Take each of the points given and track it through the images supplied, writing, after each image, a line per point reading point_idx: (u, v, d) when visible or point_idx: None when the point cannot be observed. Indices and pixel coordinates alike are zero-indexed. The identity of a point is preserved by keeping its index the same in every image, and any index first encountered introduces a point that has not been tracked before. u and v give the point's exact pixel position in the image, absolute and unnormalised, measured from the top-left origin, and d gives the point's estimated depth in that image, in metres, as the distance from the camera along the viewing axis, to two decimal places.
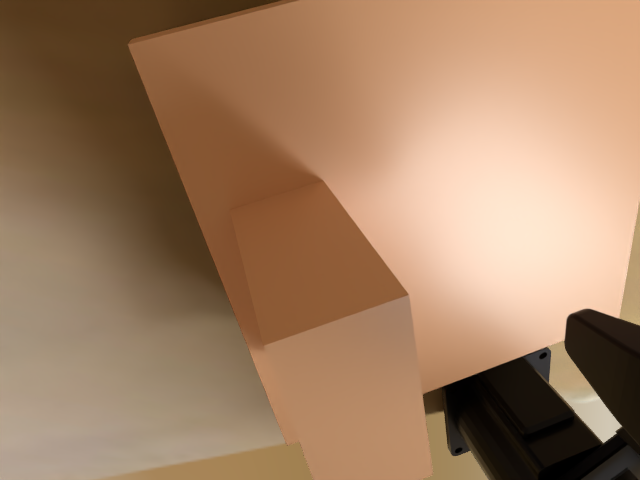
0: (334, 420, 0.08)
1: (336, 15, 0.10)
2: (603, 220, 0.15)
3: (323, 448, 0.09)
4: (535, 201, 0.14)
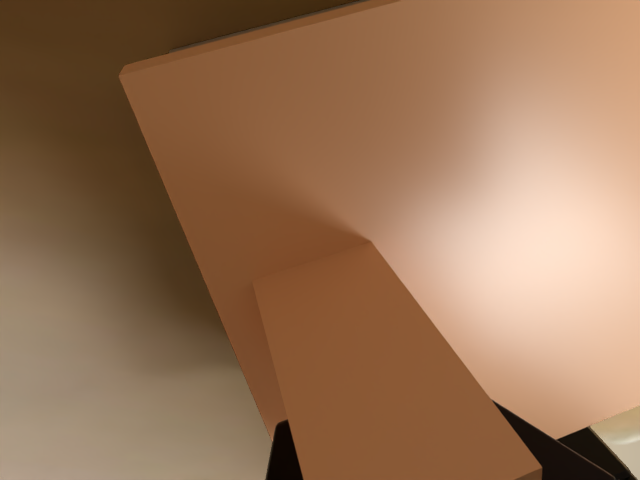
0: None
1: (400, 33, 0.07)
2: None
3: None
4: (623, 256, 0.11)
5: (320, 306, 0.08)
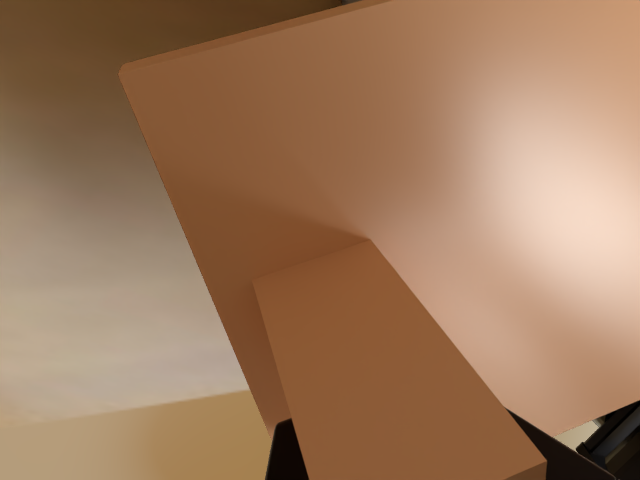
0: None
1: (398, 31, 0.07)
2: None
3: None
4: (619, 252, 0.11)
5: (321, 304, 0.08)
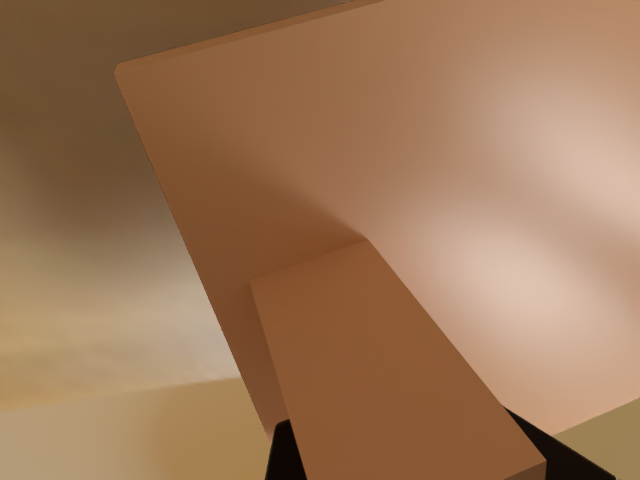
0: None
1: (395, 30, 0.07)
2: None
3: None
4: (616, 251, 0.11)
5: (318, 304, 0.08)
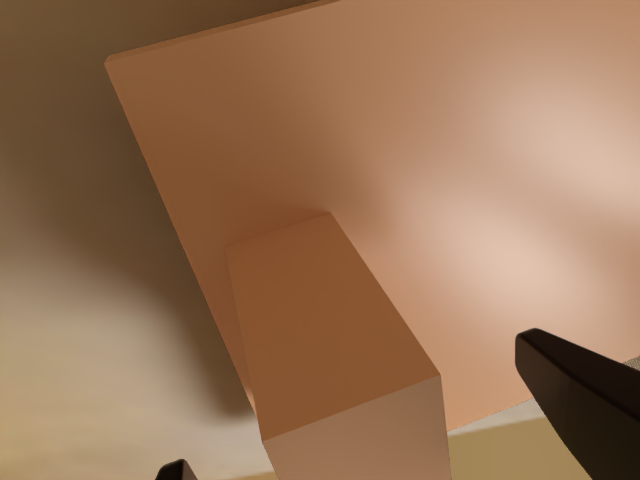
0: None
1: (347, 27, 0.09)
2: (638, 249, 0.14)
3: None
4: (565, 230, 0.12)
5: (280, 264, 0.09)
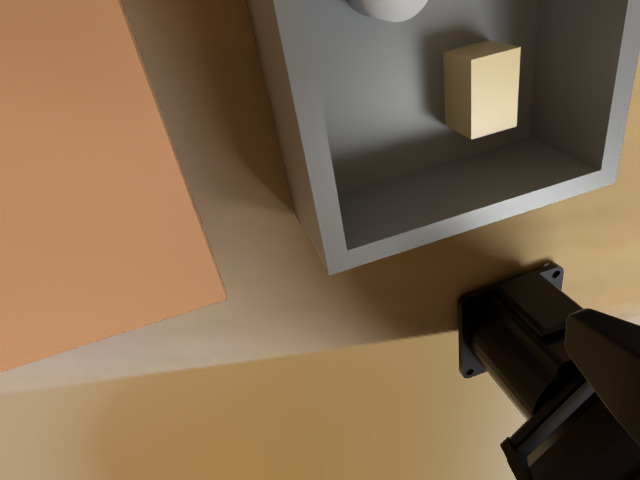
0: None
1: None
2: (152, 205, 0.16)
3: None
4: (57, 185, 0.15)
5: None
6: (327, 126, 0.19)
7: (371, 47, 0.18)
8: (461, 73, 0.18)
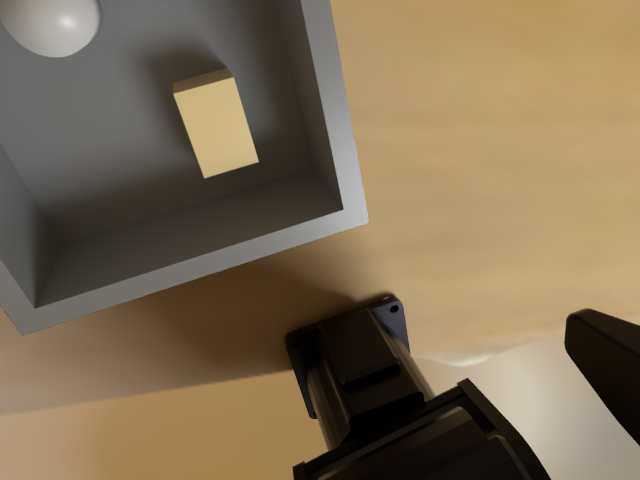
0: None
1: None
2: None
3: None
4: None
5: None
6: (51, 166, 0.17)
7: (80, 81, 0.16)
8: None
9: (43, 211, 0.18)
